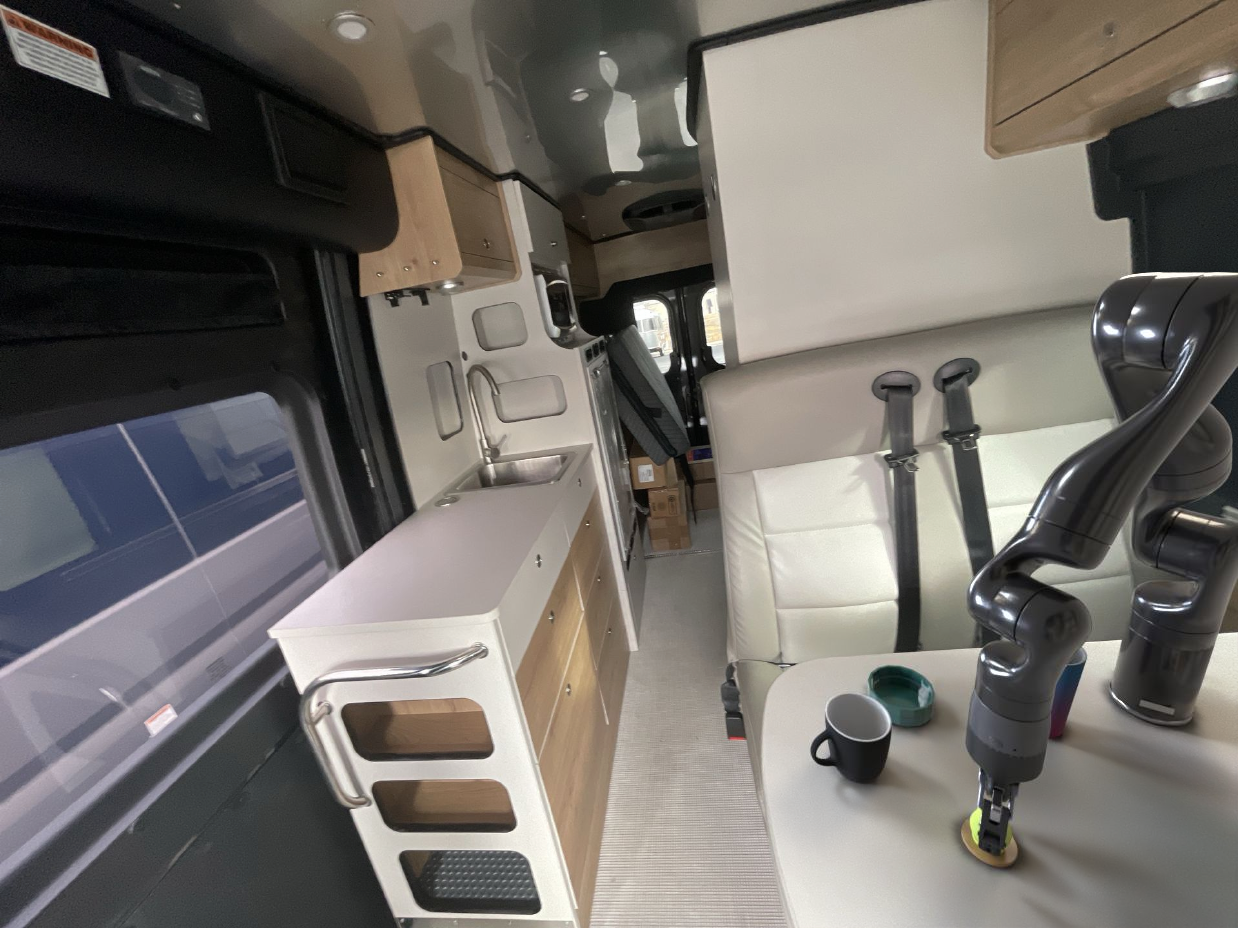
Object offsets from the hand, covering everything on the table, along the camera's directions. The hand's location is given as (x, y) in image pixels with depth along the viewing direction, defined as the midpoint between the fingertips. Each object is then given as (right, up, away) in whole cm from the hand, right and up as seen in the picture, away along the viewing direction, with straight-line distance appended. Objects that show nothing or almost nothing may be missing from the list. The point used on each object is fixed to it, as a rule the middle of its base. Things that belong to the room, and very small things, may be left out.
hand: (992, 820), depth 67 cm
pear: (0, -3, +1) cm, 4 cm away
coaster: (+1, -4, +2) cm, 4 cm away
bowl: (0, +4, +23) cm, 23 cm away
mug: (-12, -1, +14) cm, 19 cm away
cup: (+19, +4, +16) cm, 25 cm away
